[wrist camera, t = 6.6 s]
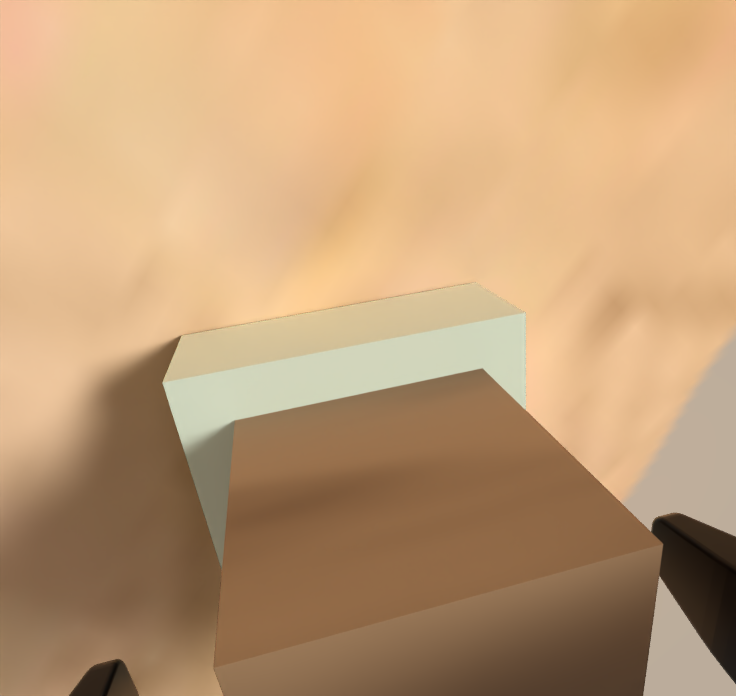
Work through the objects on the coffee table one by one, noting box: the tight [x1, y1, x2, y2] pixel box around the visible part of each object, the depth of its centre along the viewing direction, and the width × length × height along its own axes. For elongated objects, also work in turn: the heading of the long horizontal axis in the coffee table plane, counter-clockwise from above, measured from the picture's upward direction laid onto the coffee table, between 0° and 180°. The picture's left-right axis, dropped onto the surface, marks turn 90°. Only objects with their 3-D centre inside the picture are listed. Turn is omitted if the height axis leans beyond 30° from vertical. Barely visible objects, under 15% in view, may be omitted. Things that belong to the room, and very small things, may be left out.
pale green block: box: [162, 282, 526, 569], centre depth 12 cm, size 7×7×2 cm
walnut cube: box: [214, 368, 663, 696], centre depth 9 cm, size 5×5×5 cm
